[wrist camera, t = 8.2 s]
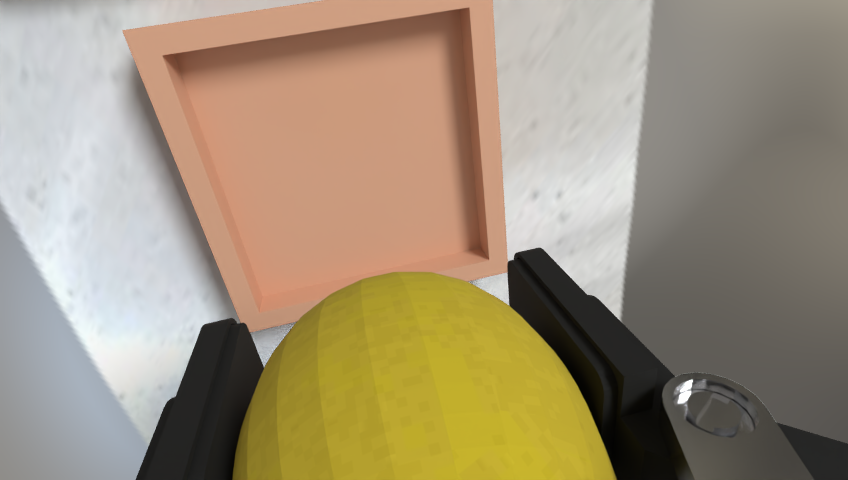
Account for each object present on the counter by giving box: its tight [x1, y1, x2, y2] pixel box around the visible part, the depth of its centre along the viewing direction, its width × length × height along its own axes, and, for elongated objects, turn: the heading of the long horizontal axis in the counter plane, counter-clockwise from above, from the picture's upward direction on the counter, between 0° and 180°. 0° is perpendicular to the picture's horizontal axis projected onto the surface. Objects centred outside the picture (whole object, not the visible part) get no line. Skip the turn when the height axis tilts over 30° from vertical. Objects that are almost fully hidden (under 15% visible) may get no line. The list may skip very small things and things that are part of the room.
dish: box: [122, 0, 508, 332], centre depth 22 cm, size 14×14×2 cm
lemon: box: [233, 272, 617, 480], centre depth 7 cm, size 6×6×8 cm
